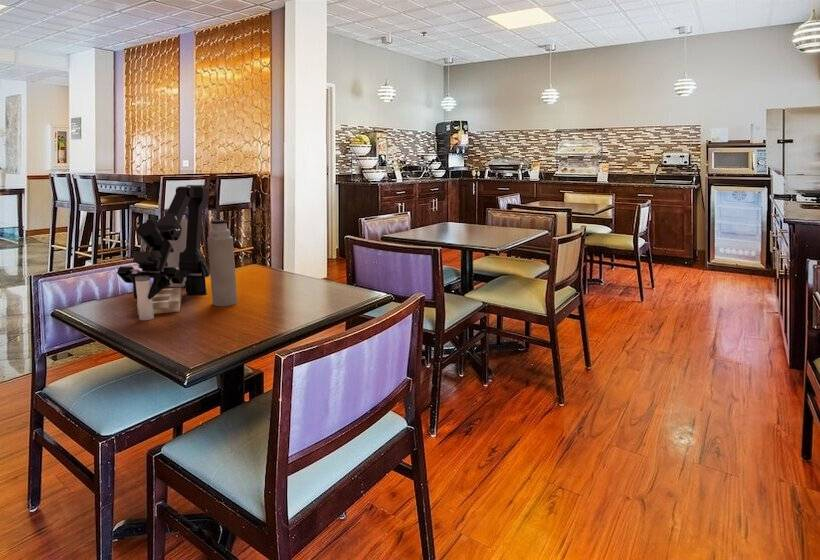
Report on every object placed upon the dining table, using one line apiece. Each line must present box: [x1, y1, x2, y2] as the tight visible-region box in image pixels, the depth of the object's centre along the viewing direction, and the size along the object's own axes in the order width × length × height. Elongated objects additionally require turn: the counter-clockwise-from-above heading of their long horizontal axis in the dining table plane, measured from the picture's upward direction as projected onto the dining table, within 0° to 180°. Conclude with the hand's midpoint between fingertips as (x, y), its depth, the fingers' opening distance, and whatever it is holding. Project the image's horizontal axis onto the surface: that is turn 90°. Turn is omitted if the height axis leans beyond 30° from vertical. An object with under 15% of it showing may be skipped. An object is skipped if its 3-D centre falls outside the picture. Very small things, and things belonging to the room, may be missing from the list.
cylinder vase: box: [156, 218, 188, 288], centre depth 209 cm, size 12×12×25 cm
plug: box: [135, 275, 155, 321], centre depth 163 cm, size 4×4×13 cm
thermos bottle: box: [206, 219, 238, 307], centre depth 180 cm, size 8×8×28 cm
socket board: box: [136, 287, 183, 316], centre depth 179 cm, size 12×20×5 cm, turn 20°
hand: (142, 298), depth 162 cm, fingers closed on plug, 4 cm apart
